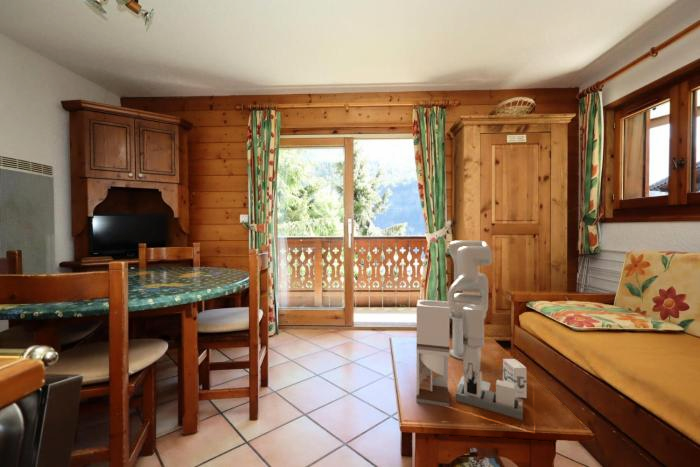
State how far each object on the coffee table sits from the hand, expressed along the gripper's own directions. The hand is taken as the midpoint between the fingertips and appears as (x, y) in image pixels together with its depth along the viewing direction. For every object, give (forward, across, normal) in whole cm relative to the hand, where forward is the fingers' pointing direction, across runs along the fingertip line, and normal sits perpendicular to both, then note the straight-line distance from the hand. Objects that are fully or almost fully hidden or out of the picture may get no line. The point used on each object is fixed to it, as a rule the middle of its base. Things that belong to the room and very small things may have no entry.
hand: (472, 389), depth 106 cm
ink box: (+4, -14, +13) cm, 19 cm away
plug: (+2, 0, 0) cm, 2 cm away
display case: (+4, +5, -13) cm, 15 cm away
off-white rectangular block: (+4, 0, +10) cm, 11 cm away
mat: (+4, -11, -1) cm, 12 cm away
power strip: (+4, 0, +5) cm, 7 cm away
